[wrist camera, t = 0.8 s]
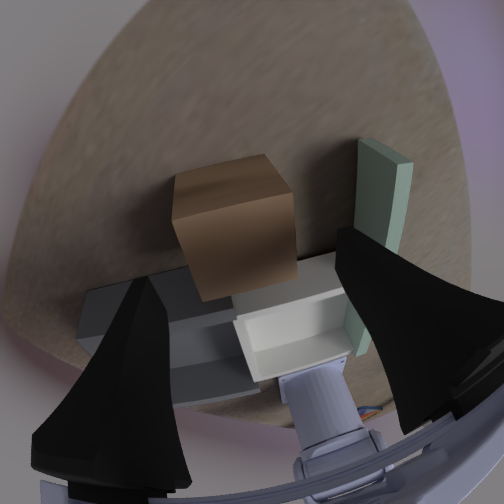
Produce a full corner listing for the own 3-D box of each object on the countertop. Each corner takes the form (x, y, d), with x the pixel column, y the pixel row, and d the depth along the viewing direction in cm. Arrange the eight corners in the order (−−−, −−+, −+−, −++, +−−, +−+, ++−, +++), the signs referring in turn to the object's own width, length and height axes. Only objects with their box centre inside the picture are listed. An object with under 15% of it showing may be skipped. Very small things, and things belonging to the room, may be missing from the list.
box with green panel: (350, 322, 24) (365, 353, 21) (247, 352, 23) (255, 387, 21) (373, 138, 13) (413, 162, 11) (193, 169, 13) (195, 203, 10)
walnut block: (273, 225, 16) (297, 278, 13) (197, 244, 16) (202, 302, 13) (263, 153, 14) (292, 192, 10) (175, 173, 13) (171, 220, 10)
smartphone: (360, 404, 49) (362, 408, 49) (382, 405, 57) (384, 409, 57) (332, 418, 52) (333, 422, 51) (359, 418, 60) (360, 422, 59)
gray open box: (251, 353, 24) (260, 392, 21) (153, 372, 24) (155, 410, 21) (223, 257, 17) (233, 308, 14) (87, 291, 16) (75, 339, 13)
